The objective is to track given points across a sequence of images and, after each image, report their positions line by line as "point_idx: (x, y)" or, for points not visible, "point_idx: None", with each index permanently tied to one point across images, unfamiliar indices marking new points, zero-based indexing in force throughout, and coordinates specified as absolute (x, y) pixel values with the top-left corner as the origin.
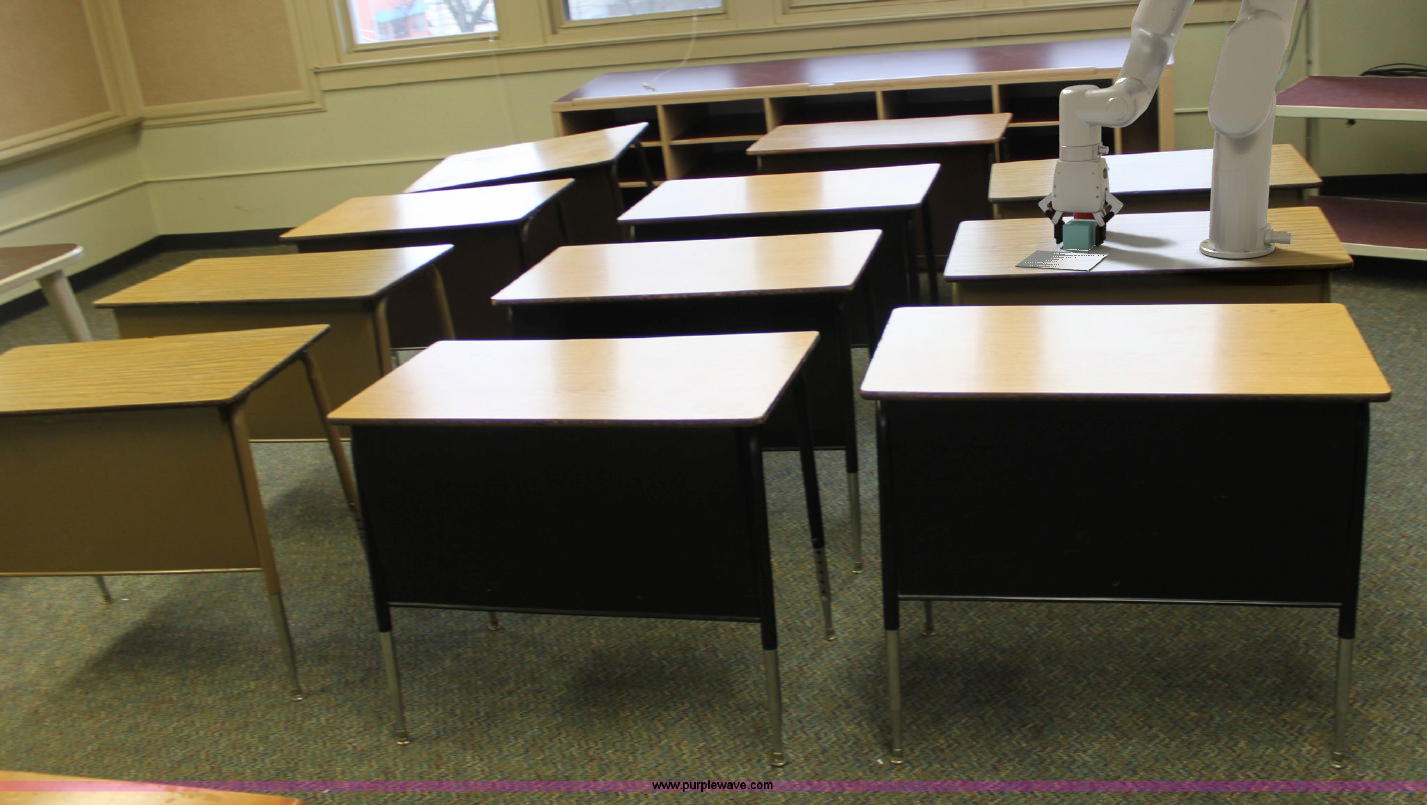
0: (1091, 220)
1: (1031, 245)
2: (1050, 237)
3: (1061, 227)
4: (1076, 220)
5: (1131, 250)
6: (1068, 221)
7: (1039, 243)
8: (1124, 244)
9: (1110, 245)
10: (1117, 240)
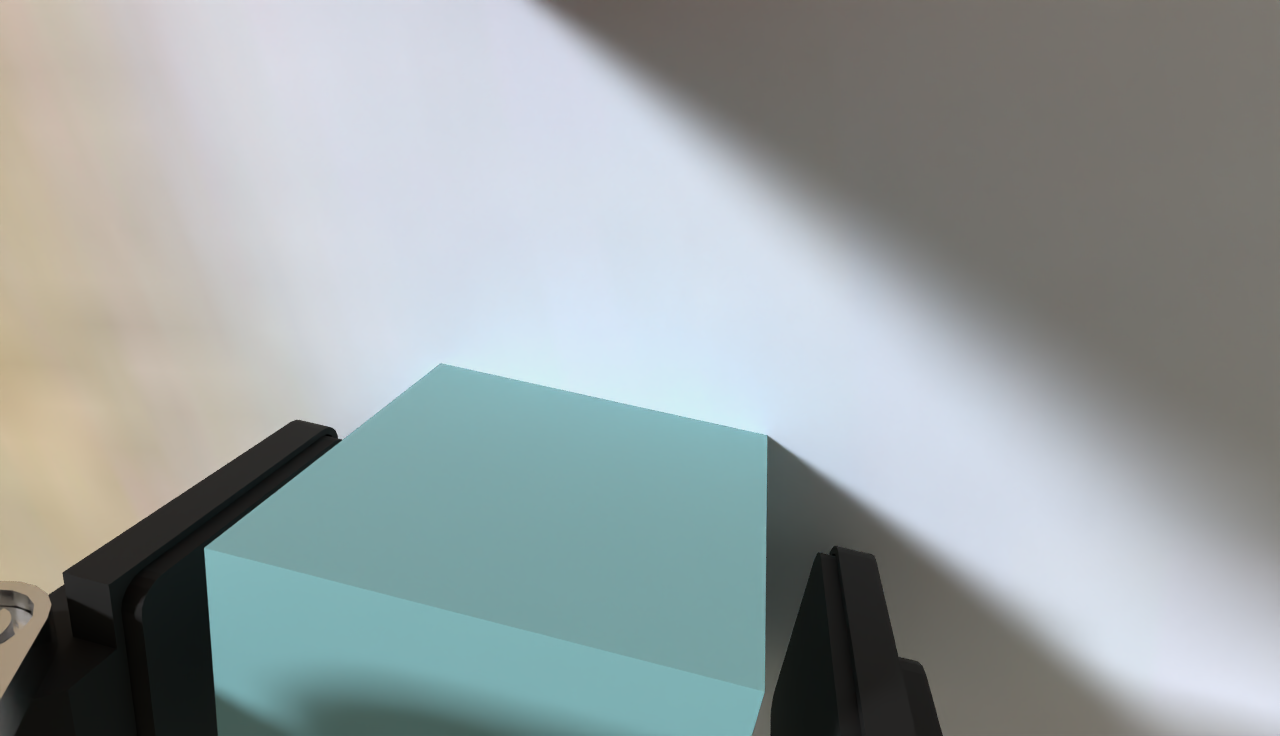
0: (643, 716)
1: (49, 436)
2: (80, 58)
3: (201, 687)
4: (335, 662)
5: (1227, 724)
6: (217, 708)
7: (88, 358)
8: (1159, 460)
9: (953, 495)
10: (1064, 237)
